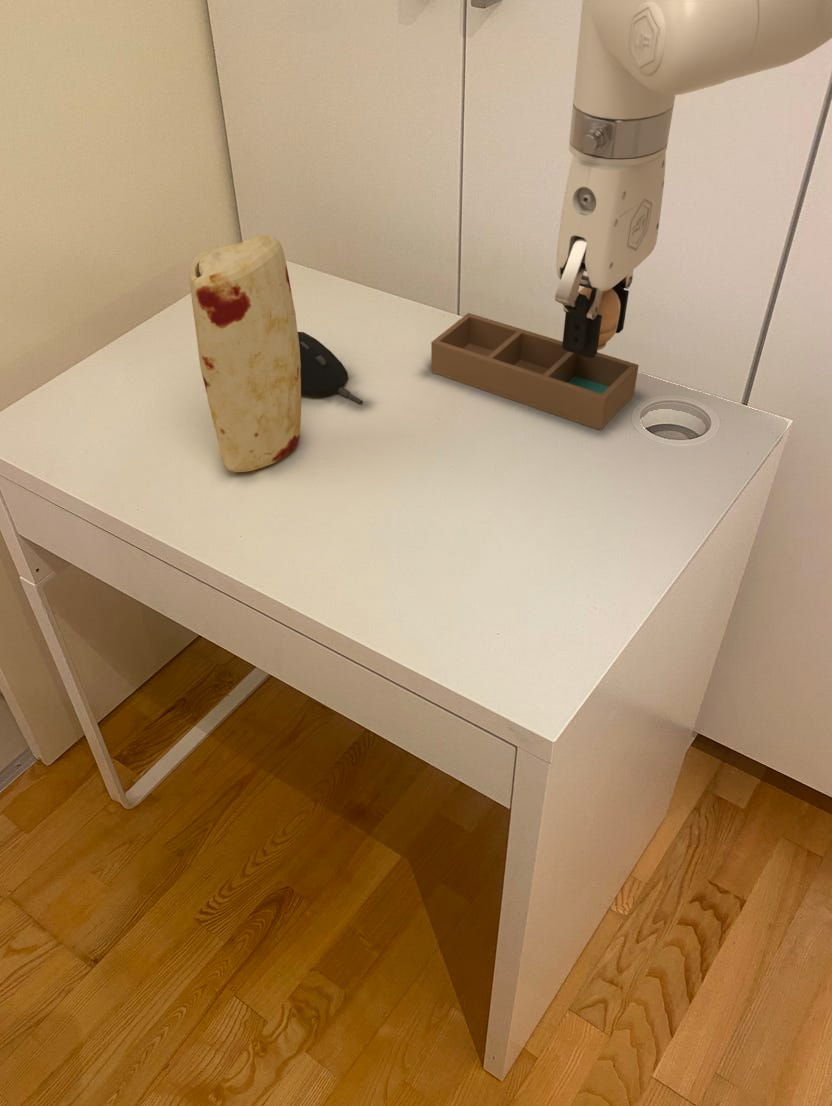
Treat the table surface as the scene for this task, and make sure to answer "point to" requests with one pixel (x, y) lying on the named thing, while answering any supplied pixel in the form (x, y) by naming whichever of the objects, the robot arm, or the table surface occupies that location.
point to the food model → (248, 350)
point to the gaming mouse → (321, 370)
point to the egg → (606, 314)
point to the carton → (534, 370)
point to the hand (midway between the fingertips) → (592, 338)
